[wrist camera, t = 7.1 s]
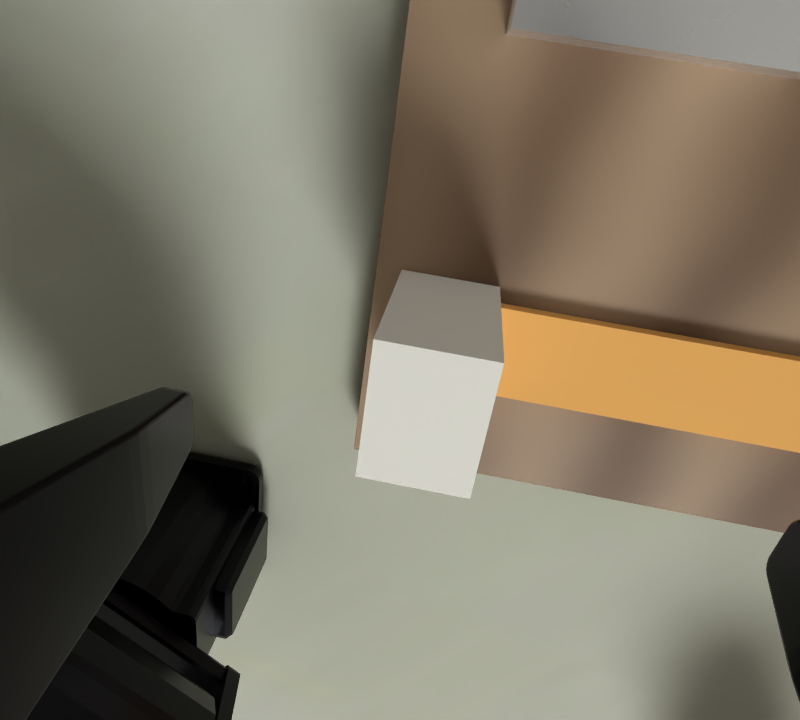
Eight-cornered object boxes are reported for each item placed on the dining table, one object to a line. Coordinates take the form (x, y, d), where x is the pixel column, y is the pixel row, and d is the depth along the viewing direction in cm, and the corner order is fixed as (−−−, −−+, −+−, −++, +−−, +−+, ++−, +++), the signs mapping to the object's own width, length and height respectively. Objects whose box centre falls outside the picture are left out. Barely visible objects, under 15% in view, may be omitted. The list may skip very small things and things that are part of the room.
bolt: (385, 382, 20) (355, 476, 15) (401, 269, 18) (373, 339, 13) (923, 483, 19) (1058, 615, 14) (1000, 375, 17) (1185, 488, 12)
